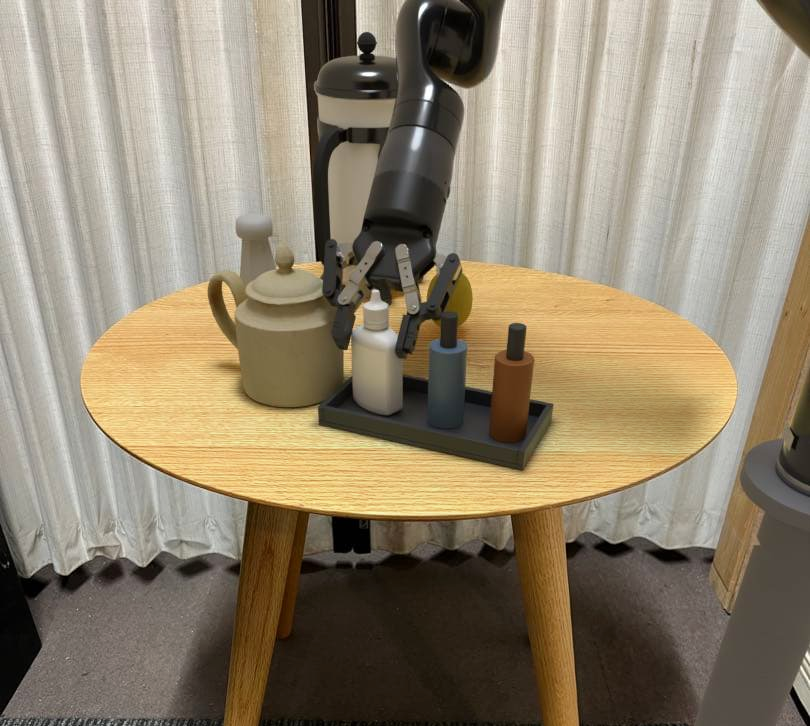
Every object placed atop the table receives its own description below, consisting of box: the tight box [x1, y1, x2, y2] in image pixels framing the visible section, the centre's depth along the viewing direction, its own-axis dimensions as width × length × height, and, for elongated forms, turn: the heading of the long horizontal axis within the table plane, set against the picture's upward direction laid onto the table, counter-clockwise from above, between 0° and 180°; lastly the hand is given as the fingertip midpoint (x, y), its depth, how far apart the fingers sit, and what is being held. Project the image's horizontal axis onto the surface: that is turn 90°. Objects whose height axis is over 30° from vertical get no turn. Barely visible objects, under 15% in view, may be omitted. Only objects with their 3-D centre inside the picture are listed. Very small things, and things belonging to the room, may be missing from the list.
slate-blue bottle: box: [427, 311, 468, 429], centre depth 79 cm, size 4×4×11 cm
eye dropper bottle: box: [350, 290, 404, 415], centre depth 81 cm, size 4×6×12 cm
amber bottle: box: [489, 322, 535, 443], centre depth 77 cm, size 4×4×11 cm
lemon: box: [426, 272, 474, 328], centre depth 99 cm, size 6×6×8 cm
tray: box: [317, 373, 555, 471], centre depth 82 cm, size 21×10×2 cm, turn 67°
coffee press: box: [312, 31, 425, 305], centre depth 104 cm, size 17×16×30 cm
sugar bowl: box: [207, 244, 345, 408], centre depth 85 cm, size 15×11×15 cm
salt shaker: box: [234, 212, 277, 286], centre depth 99 cm, size 6×6×13 cm
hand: (370, 350), depth 79 cm, fingers closed on eye dropper bottle, 5 cm apart
